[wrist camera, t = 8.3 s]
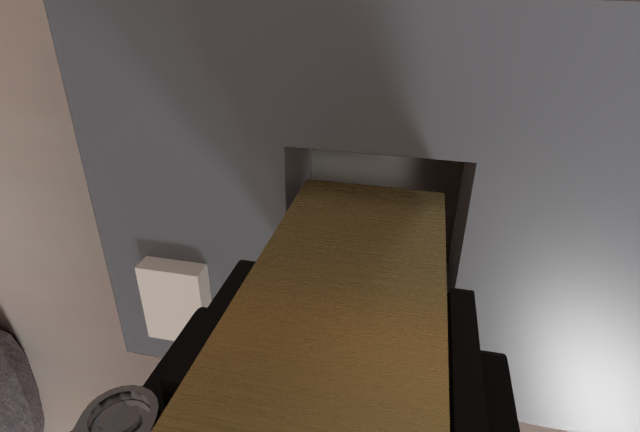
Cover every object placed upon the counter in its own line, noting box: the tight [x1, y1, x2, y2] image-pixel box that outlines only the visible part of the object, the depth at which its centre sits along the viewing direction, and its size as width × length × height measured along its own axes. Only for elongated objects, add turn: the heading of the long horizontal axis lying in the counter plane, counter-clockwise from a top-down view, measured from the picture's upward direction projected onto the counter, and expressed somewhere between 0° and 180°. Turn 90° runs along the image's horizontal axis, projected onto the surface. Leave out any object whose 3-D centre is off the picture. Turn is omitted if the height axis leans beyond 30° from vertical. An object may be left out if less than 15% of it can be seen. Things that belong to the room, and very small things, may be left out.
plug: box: [151, 179, 450, 432], centre depth 10 cm, size 4×4×10 cm
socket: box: [43, 0, 640, 432], centre depth 16 cm, size 20×14×4 cm
